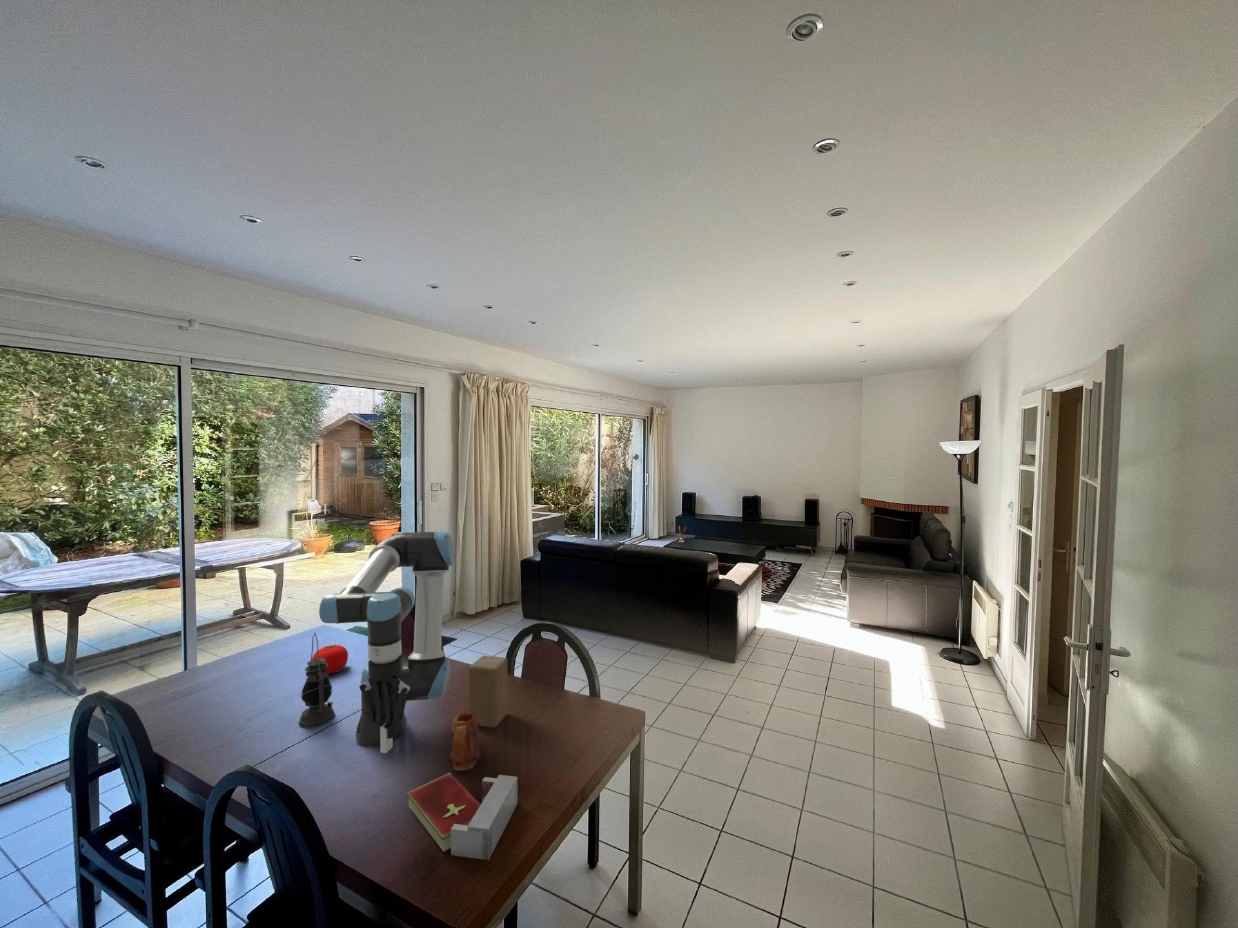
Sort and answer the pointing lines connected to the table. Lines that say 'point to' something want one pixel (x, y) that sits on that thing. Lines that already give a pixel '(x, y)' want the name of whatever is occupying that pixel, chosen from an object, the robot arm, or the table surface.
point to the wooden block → (488, 690)
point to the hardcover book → (442, 807)
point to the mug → (464, 741)
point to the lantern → (316, 694)
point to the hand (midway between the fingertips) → (386, 749)
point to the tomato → (333, 657)
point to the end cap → (486, 819)
